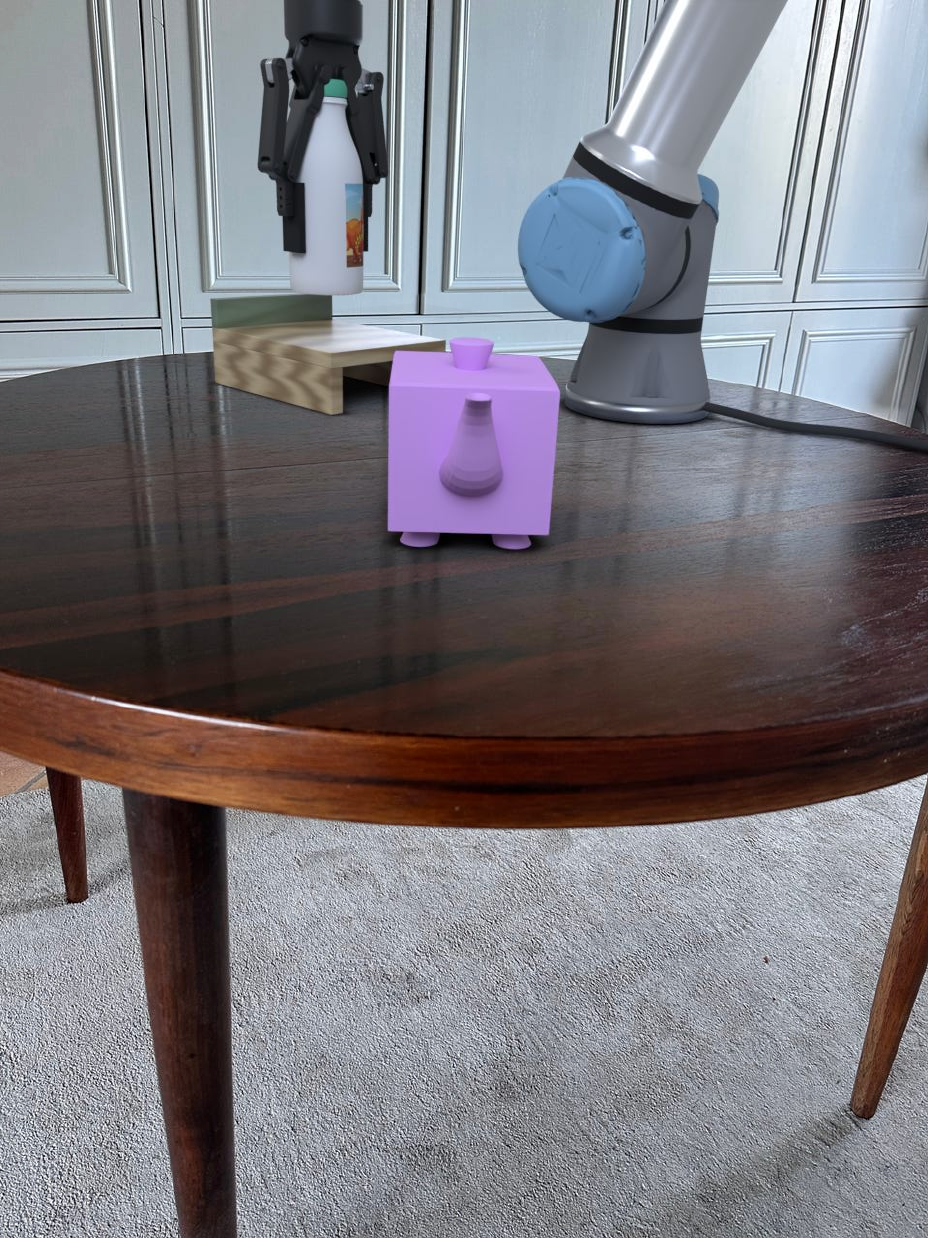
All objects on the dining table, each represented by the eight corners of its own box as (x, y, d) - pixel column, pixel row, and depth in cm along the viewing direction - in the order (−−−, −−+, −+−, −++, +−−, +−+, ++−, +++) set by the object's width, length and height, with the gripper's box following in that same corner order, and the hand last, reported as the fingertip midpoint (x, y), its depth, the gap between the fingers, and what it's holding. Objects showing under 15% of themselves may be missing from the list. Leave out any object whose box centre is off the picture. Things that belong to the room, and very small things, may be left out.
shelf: (444, 396, 109) (447, 310, 105) (331, 415, 98) (330, 320, 94) (326, 368, 121) (325, 291, 117) (215, 382, 110) (210, 298, 106)
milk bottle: (327, 298, 100) (324, 74, 92) (274, 291, 104) (267, 75, 96) (378, 294, 106) (379, 82, 98) (326, 287, 110) (323, 83, 102)
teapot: (393, 488, 75) (395, 318, 70) (525, 492, 76) (536, 323, 71) (384, 588, 57) (386, 368, 52) (558, 592, 58) (576, 374, 53)
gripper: (377, 14, 103) (375, 246, 113) (208, -19, 89) (222, 250, 99) (427, 9, 99) (422, 252, 108) (258, -27, 85) (268, 256, 94)
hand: (326, 250), depth 103 cm, fingers closed on milk bottle, 8 cm apart
